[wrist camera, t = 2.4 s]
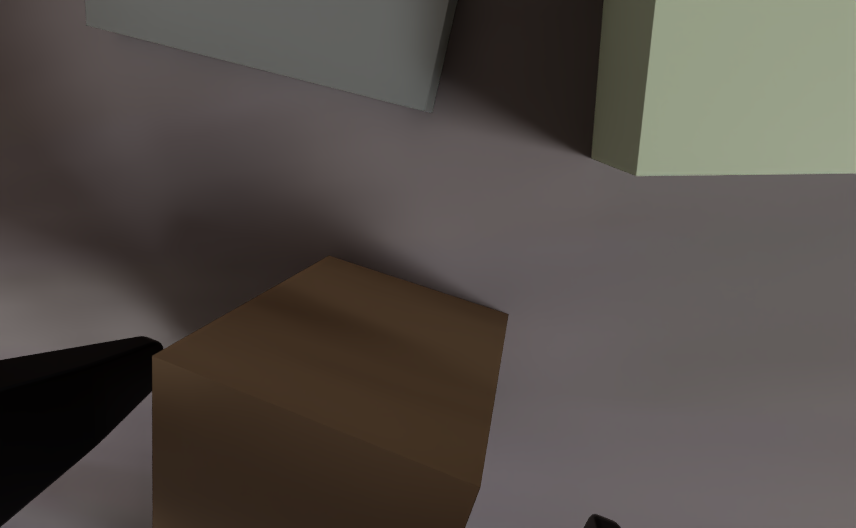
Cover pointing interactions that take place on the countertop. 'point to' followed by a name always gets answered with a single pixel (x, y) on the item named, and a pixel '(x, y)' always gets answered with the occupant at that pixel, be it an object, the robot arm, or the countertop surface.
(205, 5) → the slate coaster
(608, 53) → the sage block
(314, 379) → the walnut block
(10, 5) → the countertop surface
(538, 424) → the countertop surface
